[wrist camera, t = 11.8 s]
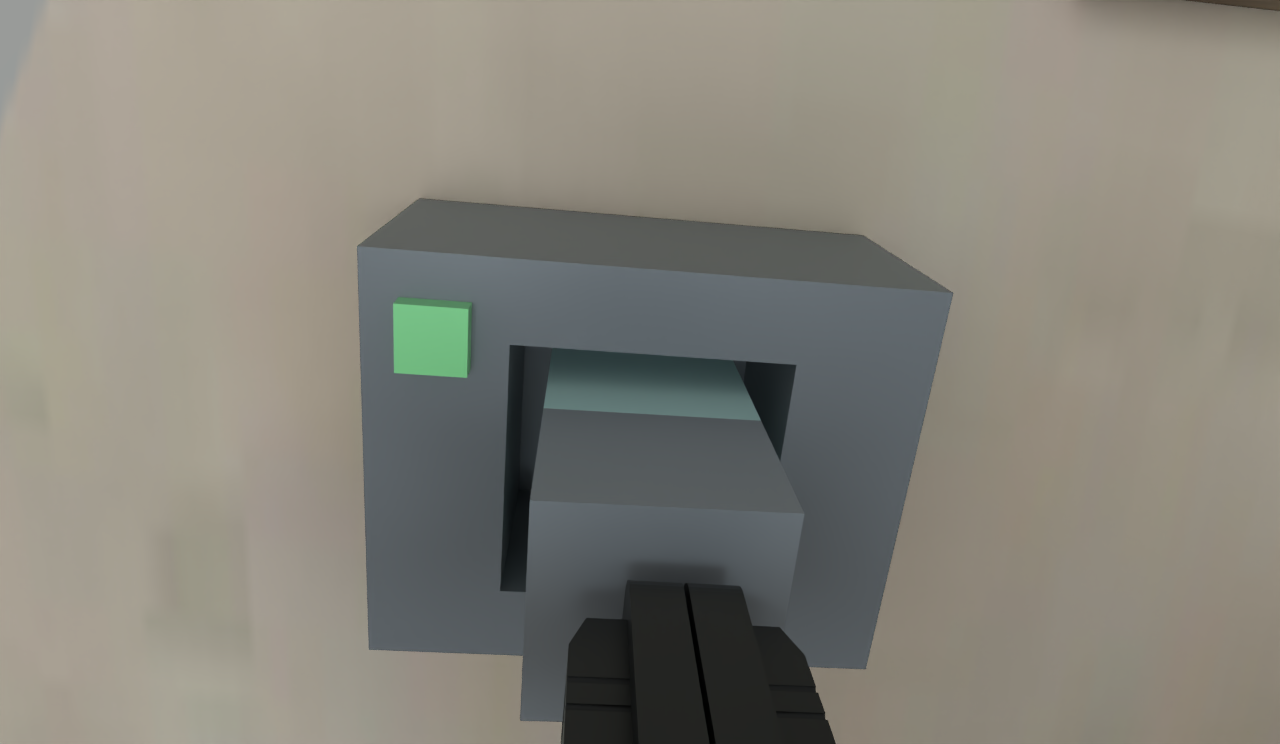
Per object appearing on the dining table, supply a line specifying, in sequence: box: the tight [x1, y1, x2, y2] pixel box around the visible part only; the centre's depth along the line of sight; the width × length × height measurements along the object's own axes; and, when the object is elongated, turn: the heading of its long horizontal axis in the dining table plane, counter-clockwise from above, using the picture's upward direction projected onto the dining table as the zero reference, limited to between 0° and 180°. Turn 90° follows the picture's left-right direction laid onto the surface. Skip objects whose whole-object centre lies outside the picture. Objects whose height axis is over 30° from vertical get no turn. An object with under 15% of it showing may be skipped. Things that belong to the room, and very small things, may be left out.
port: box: [357, 199, 953, 669], centre depth 17 cm, size 10×8×5 cm
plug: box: [520, 348, 804, 722], centre depth 15 cm, size 4×4×8 cm
